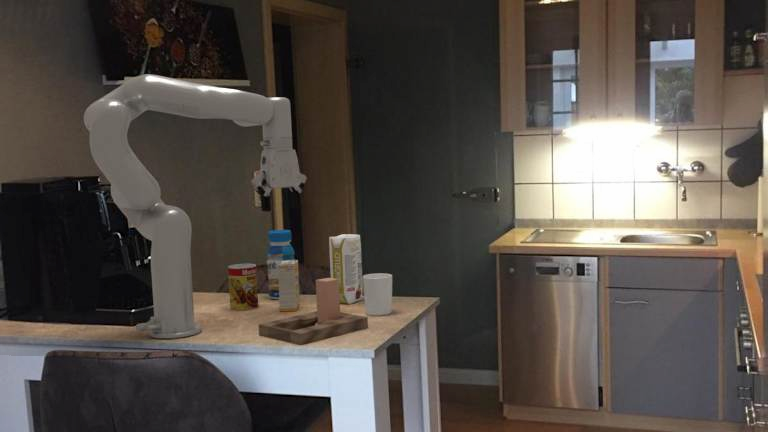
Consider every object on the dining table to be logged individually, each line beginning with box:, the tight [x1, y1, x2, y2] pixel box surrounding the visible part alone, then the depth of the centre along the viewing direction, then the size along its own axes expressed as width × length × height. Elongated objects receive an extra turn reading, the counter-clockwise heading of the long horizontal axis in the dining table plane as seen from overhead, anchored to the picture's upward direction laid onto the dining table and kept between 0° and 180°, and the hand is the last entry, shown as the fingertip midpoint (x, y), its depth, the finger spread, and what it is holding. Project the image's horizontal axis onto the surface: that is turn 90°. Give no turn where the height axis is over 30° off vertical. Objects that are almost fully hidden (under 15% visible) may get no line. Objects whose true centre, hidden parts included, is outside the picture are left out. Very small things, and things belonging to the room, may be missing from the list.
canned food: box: [227, 263, 259, 312], centre depth 231 cm, size 8×8×12 cm
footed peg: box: [315, 277, 341, 325], centre depth 202 cm, size 7×7×12 cm
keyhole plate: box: [257, 310, 369, 346], centre depth 199 cm, size 21×16×3 cm
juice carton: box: [328, 233, 364, 305], centre depth 234 cm, size 8×9×19 cm
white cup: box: [362, 272, 393, 316], centre depth 217 cm, size 8×8×10 cm
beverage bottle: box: [266, 229, 296, 301], centre depth 244 cm, size 8×8×20 cm
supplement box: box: [278, 259, 301, 312], centre depth 227 cm, size 8×5×13 cm, turn 179°
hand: (281, 209), depth 217 cm, fingers open, 9 cm apart
